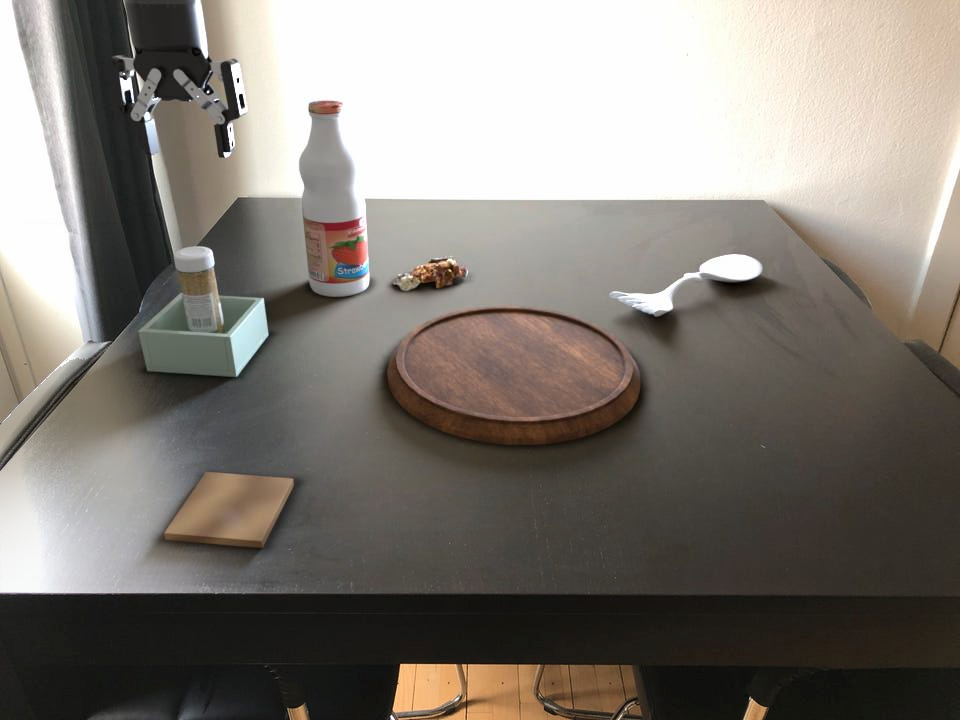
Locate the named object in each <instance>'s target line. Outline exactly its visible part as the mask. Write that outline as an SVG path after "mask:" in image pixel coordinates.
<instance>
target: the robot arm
mask: <svg viewBox="0 0 960 720" xmlns="http://www.w3.org/2000/svg"><path fill="white" fill-rule="evenodd" d="M123 1H124V7H125V10H126V17H127V23H128V28H129V33H130V39H131V43H132V46H133V48H134V58H133V57H127V56H126V55H124V54H121V55H114V56H112V57H109V58H107V60H106V66H107V72H108V73H107V74H108V79H109V86H110V92H111V98H112V106H113V110H114V112H115V114H117V115H119V116H122V115H123V116H126V117H127V118H128V117H129V118H130V119H132V121H133V122H134V125H135V130H136V136H137V140H138V145H139V148H140V149H141V150H144V153H145V155H146V156H154V155H156V154H158V153H159V152H160V145H159V139H158V133H157V128H156V123H155V118H151V116H152V114H153V112H154V110H155V108H156V107H157V104H158V103H159V102H161V101H163V102H164V101H165V102H169V101H173V100H177V101H180V102H186V103H187V102H188V103H189V102H190V103H191V102H192V101H194V102H196V104H197V105H198V106H199V107H200V108H201V109H202V110H204V111H206V113H207V114H208V115H209V116H210V117H211V119H212V120H213V121H214V122H215V123H214V125H213V128H214V137H215V143H216V150H217V156H218V158H219V159H221V158H222V159H227V158H228V157H230V156H231V154H232V152H233V151H235V147H236V143H235V135H234V128H233V127H234V126H233V122H234V120H238V119H240V118H242V117H244V116H245V115H247V113H248V104H247V100H246V93H245V88H244V82H243V78H242V77H243V76H242V72H241V67H240V62H239V61H238V59H236V58H230V59H226V60H219V61H217V60H216V61H213V60H212V58H211V56H210V54H209V51H208V40H207V38H208V37H207V32H206V24H205V17H204V11H203V4H202V0H123ZM135 72H136V73H137V74H138V76H139V77H140V78H141V79H142V81H143V82H144V84H143V86H142V88H141V89H140V91H139V93H138V95H137V97H136V102H135V98H134V90H133V83H132V78H133V77H134V75H135ZM214 74H216V76H217V78H218V80H219V82H221V83H223V88H224V94H225V99H226V103H227V105H226V104H225V102H224V101H223V100H222V98H221V95H220V94H219V93H218V92H217V90H216V88H214V86H213V85H212V84H211V83H210V81H211V79H212V77H213V75H214Z"/></svg>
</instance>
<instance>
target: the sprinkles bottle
mask: <svg viewBox="0 0 960 720" xmlns="http://www.w3.org/2000/svg"><path fill="white" fill-rule="evenodd" d="M173 260H174V266H175V269H176V272H177V275H178V280H179V284H180V289H181V290H180V291H181V292H180V293H182V297H183V302H184V308H185V313H186V318H187V323H188V328H189V331H190V332H204V333H220V334H225V329H224V320H223V314H222V309H221V303H220V301H219V296H220V295H219V290H218V284H217V279H216V273H215V258H214V252H213V250H212V249H211V248H210V247H206V246H202V245H201V246H200V245H199V246H198V245H196V246H195V245H194V246H188V247H183V248H180V249H178V250H176V251H174V253H173Z"/></svg>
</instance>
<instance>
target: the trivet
mask: <svg viewBox="0 0 960 720" xmlns="http://www.w3.org/2000/svg"><path fill="white" fill-rule="evenodd" d="M294 486H295V483H294V478H290V477H280V476H279V477H277V476H267V475H266V476H265V475H253V474H252V475H251V474H239V473H238V474H237V473H229V472H228V473H226V472H214V471H213V472H212V471H205V472H204V473H203V475H202V477H201V478H200V479H199V481H198V483H197V484H196V486H195V487H194V488H193V490H192V491H191V493H190V494H189V496H188V497H187V498H186V500H185V502H184V503H183V505H182V506H181V508H180V509H179V510H178V512H176V514H175V516H174V518H173V519H172V521H171V522H170V523H169V525H168V526H167V528H166V529H165V530H164V533H163V535H164V539H165V541H173V542H174V541H176V542H187V543H199V544H210V545H211V544H212V545H221V546H222V545H223V546H234V547H246V548H257V549H258V548H259V549H263V548H264V546H265V544H266V542H267V540H268V538H269V536H270V534H271V532H272V530H273V528H274V526H275V524H276V521H278V518H279V516H280V514H281V512H282V510H283V508H284V507H285V504H286V502H287V500H288V498H289V496H290V494H291V492H292V491H293V488H294Z"/></svg>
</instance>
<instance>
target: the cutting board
mask: <svg viewBox="0 0 960 720" xmlns="http://www.w3.org/2000/svg"><path fill="white" fill-rule="evenodd" d="M387 365H388V366H387V374H386V375H387V384H388V387H389V389H390V391H391V394H392V397H393V398H394V399H395V400H396V401H397V403H398V404H399V405H400V406H401V408H403V409H404V410H405V411H406V412H407V413H409V414H410V415H411V416H412V417H414V418H416V419H418V420H419V421H420V422H422V423H424V424H426V425H428V426H430V427H433V428H435V429H436V430H439V431H442V432H444V433H446V434H450V435H454V436H457V437H459V438H463V439H468V440H473V441H477V442H481V443H488V444H489V443H490V444H499V445H507V446H508V445H509V446H535V445H547V444H557V443H563V442H569V441H572V440H574V441H575V440H578V439H580V438H583V437H587V436H590V435H594V434H596V433H598V432H600V431H603V430H605V429H607V428H609V427H611V426H613V425H614V424H616V423H617V422H619V421H620V420H621V419H623V418H624V417H625V416H626V415H627V414H628V413H629V412H630V411H631V410H632V409H633V408H634V406H635V404H636V403H637V401H638V399H639V394H640V391H641V387H642V384H641V383H642V381H641V373H640V370H639V367H638V365H637V362H636V361H635V360H634V358H633V357H632V355H631V354H630V352H629V350H628V349H627V348H626V346H625V345H624V343H622V342H621V341H620V340H619V339H618V338H617V337H616V336H615V335H613V334H612V333H611V332H609V331H608V330H606V329H605V328H603V327H601V326H599V325H597V324H595V323H593V322H591V321H588V320H586V319H584V318H580V317H579V316H575V315H572V314H569V313H564V312H560V311H557V310H551V309H548V308H547V309H546V308H539V307H534V306H533V307H531V306H522V305H521V306H518V305H495V306H493V305H491V306H482V307H480V306H479V307H473V308H472V307H471V308H466V309H461V310H457V311H452V312H449V313H445V314H442V315H440V316H437V317H434V318H431V319H429V320H427V321H426V322H424V323H422V324H420V325H418V326H417V327H416V328H414V329H413V330H412V331H410V332H409V333H408V334H407V335H406V336H405V337H404V338H403V339H402V340H401V342H400V344H399V345H398V346H397V347H396V348H395V349H394V351H393V352H392V355H391V357H390V358H389V362H388V364H387Z"/></svg>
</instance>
